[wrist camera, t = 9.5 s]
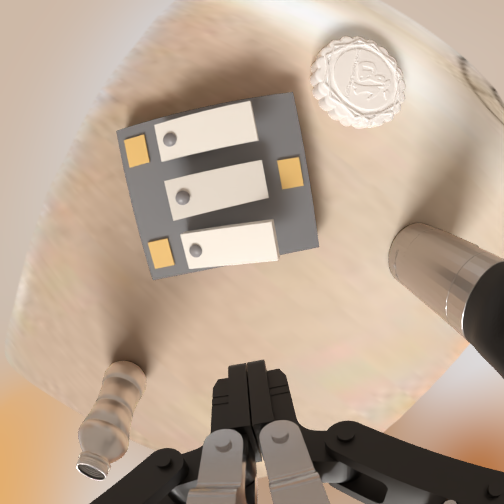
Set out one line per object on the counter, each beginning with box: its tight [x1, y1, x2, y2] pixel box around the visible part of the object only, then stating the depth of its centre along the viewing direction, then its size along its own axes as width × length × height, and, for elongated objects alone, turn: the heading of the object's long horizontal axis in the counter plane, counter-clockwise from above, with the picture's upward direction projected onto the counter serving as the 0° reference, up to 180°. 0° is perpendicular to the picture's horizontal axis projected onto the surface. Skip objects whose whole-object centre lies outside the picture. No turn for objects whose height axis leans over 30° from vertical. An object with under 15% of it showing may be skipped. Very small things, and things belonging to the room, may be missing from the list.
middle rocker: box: [164, 160, 269, 221], centre depth 31 cm, size 10×4×1 cm, turn 101°
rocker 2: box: [180, 219, 280, 269], centre depth 33 cm, size 10×4×1 cm, turn 101°
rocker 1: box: [154, 101, 259, 162], centre depth 29 cm, size 10×4×1 cm, turn 101°
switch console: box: [116, 92, 319, 280], centre depth 34 cm, size 20×18×4 cm
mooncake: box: [310, 36, 405, 129], centre depth 32 cm, size 12×12×4 cm
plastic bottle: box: [76, 361, 146, 481], centre depth 34 cm, size 6×7×20 cm
